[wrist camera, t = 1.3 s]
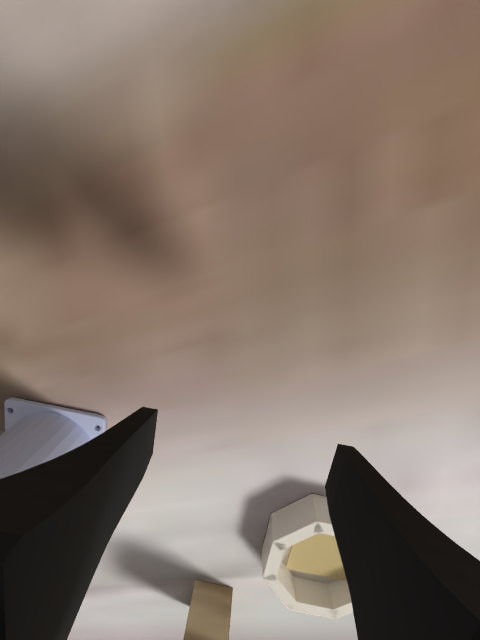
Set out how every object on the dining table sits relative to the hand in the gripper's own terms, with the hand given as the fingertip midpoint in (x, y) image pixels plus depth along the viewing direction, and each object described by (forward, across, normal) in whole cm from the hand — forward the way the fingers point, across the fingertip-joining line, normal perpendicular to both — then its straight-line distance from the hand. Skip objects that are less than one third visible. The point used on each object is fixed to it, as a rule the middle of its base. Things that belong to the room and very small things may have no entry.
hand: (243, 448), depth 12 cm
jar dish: (+10, -9, +16) cm, 21 cm away
